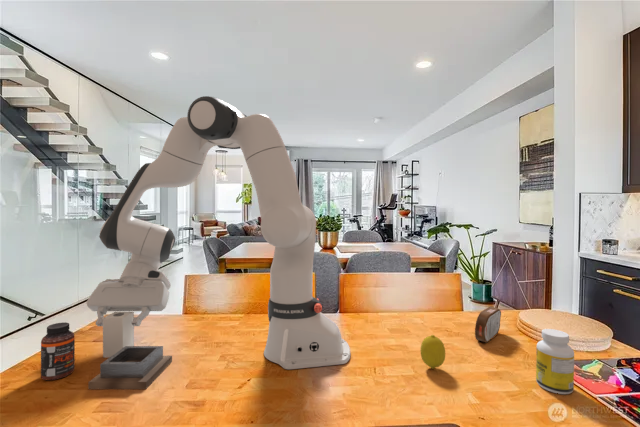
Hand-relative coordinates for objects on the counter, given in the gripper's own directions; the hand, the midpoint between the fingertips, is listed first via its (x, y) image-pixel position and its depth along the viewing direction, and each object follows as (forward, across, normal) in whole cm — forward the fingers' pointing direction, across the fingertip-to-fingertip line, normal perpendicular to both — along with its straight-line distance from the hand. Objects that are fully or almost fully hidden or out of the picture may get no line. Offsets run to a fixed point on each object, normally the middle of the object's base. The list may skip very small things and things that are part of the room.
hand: (117, 325), depth 83 cm
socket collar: (+12, +10, -3) cm, 16 cm away
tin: (-1, +102, +12) cm, 103 cm away
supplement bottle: (+13, -7, -2) cm, 15 cm away
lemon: (+11, +79, 0) cm, 80 cm away
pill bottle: (+17, +102, -6) cm, 104 cm away
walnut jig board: (+13, +10, -2) cm, 16 cm away
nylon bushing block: (+5, 0, +6) cm, 7 cm away
